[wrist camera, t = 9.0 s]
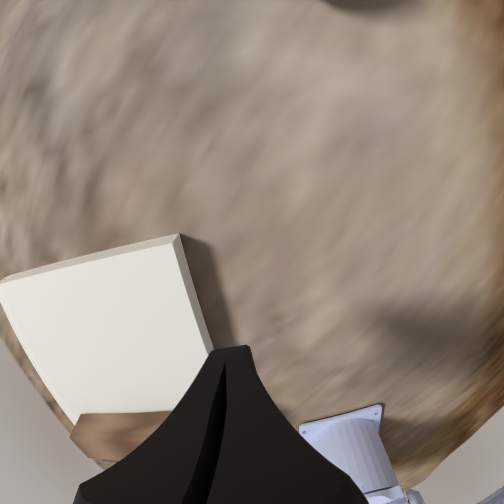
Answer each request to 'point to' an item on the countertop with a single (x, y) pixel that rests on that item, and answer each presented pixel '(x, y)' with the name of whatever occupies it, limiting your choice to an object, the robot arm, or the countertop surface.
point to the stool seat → (112, 328)
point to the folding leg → (114, 433)
